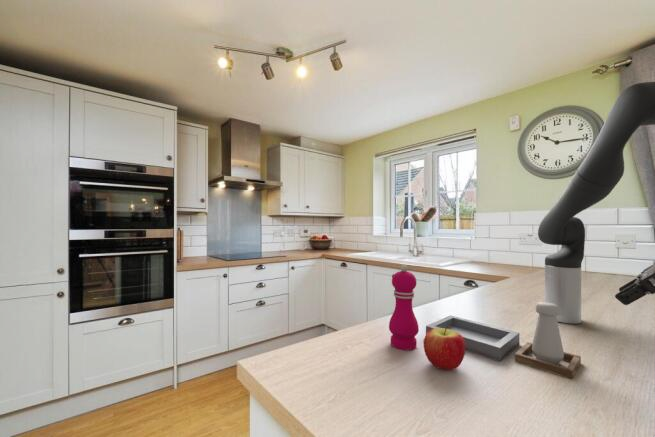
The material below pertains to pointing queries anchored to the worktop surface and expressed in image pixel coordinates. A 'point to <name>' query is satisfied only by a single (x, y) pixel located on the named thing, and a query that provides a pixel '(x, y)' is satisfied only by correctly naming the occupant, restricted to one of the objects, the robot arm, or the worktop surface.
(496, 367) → the worktop surface
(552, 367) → the wooden square frame
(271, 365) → the worktop surface
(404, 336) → the pepper mill
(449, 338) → the apple
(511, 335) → the tray
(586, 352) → the worktop surface
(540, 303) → the salt shaker
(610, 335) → the worktop surface
